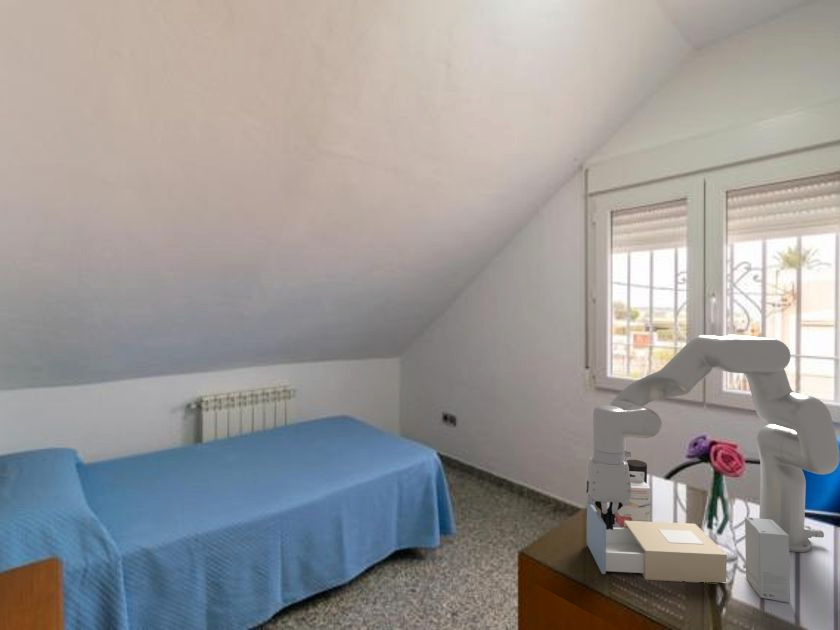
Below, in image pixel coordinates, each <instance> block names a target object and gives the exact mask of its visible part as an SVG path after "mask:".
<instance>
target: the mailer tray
mask: <svg viewBox="0 0 840 630" xmlns="http://www.w3.org/2000/svg"><path fill="white" fill-rule="evenodd" d="M596 508H597V507H595V505H591V504H588V503H587V502H586V544H587V547H588V549H589V550H590V553H591V554H592V556H593V559H594V561H595V563H596V565H597V566H598V567H597V568H598V569H599V571H600V572H601V573H600V574H602V575H606V572H615V573H636V574H638V573H639V574H642V573H644V571H645V551H644V550H643V548H642V547H641V546H640V544H639V543H638V541H637V540H636V539H635V537H634V536H633V534H632V533H631V532H630V530H629V529H628V528H624V527H614V526H613V530H611V529H609V530H607V529H606V524H605V523H604V521H603V519H602V518H601V514H600V513H599V511H598V510H597V509H596Z"/></svg>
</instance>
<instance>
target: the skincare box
mask: <svg viewBox="0 0 840 630" xmlns="http://www.w3.org/2000/svg"><path fill="white" fill-rule="evenodd" d="M744 528H745V529H744V532H745V534H744V536H745V539H744V541H745V542H744V543H745V578H746V579H747V581H748V582H749V584H750V585H751V586H752V588H753V590H754V591H755V592H756V593H757V595H758V596H759V597H760V598H761V599H767V600H768V599H769V600H771V601H772V600H773V601H777V602H781V603H782V602H783V603H789V604H790V603H791V577H790V576H791V573H790V567H791V566H790V551H789V535H788V534H787V533H786V532H785V531H783V530H782V529H781V528H780V527H779V526H778V525H777V524H776V523H775V522H774V521H773V520H770V519H760V518H759V517H748V516H747V517H746V516H745V517H744Z"/></svg>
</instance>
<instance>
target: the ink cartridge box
mask: <svg viewBox="0 0 840 630" xmlns="http://www.w3.org/2000/svg"><path fill="white" fill-rule="evenodd" d="M629 473H630V474H632V475H635V477H630V481H631V500H630V502H631V505H629V506H624V507H621V508H620V509H619V510H618V511H617V514H615V521H617V523H618V524H619V526H623V527H624V521H645V522H651V498H652V495H651V494H652V488H651V487H650V486H649V485H648V484H646V483H645V482H644V475H645V473H644V472H634V471H629Z"/></svg>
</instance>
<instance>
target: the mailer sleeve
mask: <svg viewBox="0 0 840 630" xmlns="http://www.w3.org/2000/svg"><path fill="white" fill-rule="evenodd" d="M623 528H628V529H629V530H630V532H631V533H632V534H633V536H634V537H635V539H636V540H637V541H638V543H639V544H640V546H641V547H642V548H643V550H644V551H645V571H644V573H641V575H642V576H643V578H644V580H647V581H648V580H649V581H665V582H667V581H669V582H681V583H682V581H685V582H684V583H699V582H704V583H703V584H709V583H708V582H726V583H727V560H728V559H727V558H728V557H727V556H728V555H727V553H726V552H725V551H724V550H723V549H722V548H721V547H720V546H718V545H717V544H716V542H715V541H713V540H712V538H710V537H709V536H708V535H707V534H706V532H704V531H703V530H702V529H701V528H700V527H699V526H698V525H697V524H696V523H688V522H685V523H682V522H668V521H667V522H664V521H663V522H661V521H650V522H645V521H624V526H623ZM705 582H707V583H705Z"/></svg>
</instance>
